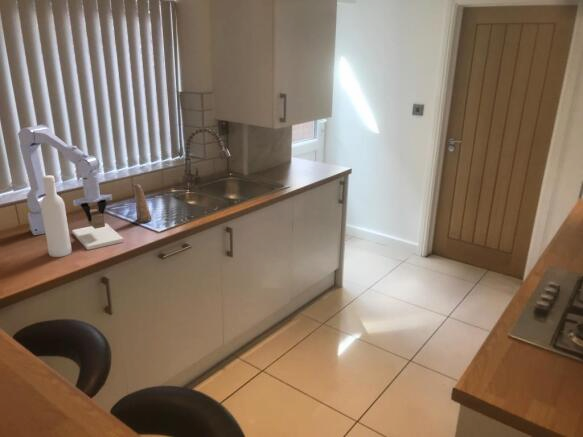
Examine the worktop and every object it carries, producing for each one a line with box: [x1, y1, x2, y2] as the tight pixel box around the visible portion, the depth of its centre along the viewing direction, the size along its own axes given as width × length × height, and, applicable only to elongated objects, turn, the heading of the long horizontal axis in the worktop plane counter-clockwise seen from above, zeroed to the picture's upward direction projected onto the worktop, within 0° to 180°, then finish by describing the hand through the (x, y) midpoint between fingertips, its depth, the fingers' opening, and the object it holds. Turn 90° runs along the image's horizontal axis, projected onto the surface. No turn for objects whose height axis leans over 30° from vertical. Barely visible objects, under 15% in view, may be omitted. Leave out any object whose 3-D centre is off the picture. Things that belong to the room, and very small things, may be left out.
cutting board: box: [71, 222, 125, 251], centre depth 193 cm, size 14×21×2 cm, turn 38°
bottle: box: [41, 175, 73, 258], centre depth 174 cm, size 8×8×30 cm
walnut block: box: [87, 208, 105, 229], centre depth 190 cm, size 9×4×5 cm, turn 38°
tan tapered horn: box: [133, 183, 152, 223], centre depth 210 cm, size 6×18×6 cm
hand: (95, 219), depth 191 cm, fingers closed on walnut block, 4 cm apart
